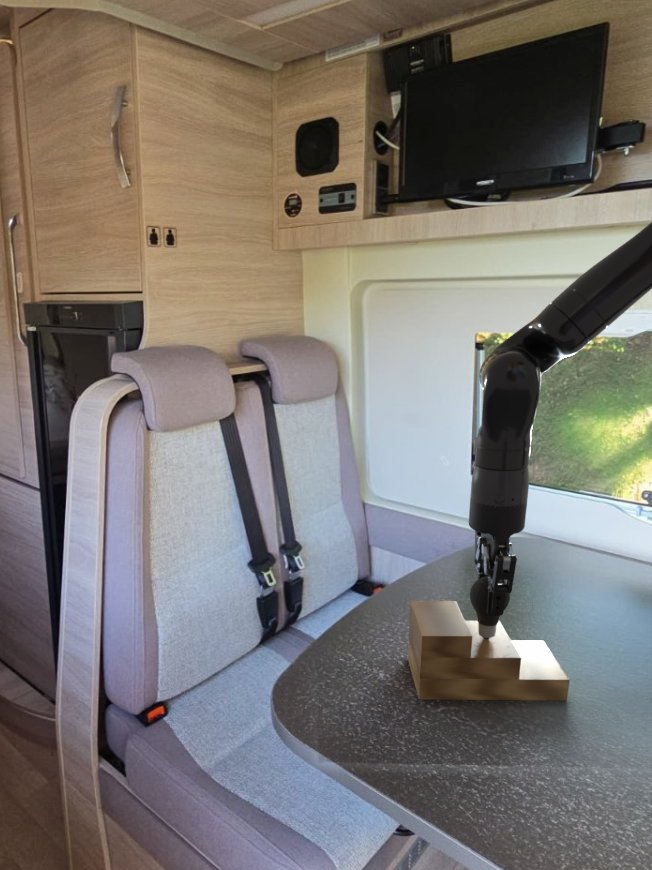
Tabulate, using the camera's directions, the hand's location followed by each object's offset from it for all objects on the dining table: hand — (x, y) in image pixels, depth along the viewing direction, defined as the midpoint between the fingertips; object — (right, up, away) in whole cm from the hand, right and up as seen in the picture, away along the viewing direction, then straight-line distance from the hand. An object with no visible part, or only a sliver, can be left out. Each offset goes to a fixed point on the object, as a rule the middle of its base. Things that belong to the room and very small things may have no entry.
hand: (489, 604), depth 106 cm
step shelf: (0, -12, +4) cm, 12 cm away
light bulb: (0, -5, +2) cm, 6 cm away
